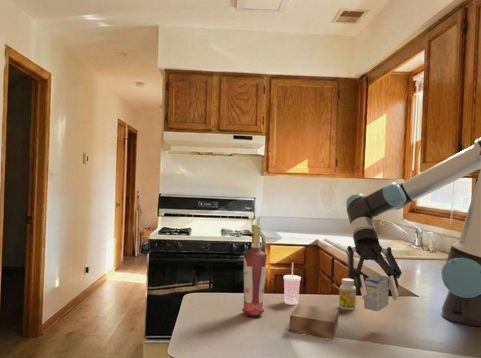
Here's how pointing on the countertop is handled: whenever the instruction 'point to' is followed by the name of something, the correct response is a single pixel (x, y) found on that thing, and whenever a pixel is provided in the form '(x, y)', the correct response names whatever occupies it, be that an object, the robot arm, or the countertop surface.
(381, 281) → the medicine box
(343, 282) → the supplement bottle
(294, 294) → the beverage cup
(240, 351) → the countertop surface
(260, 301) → the liquor
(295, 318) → the walnut block
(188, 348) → the countertop surface
